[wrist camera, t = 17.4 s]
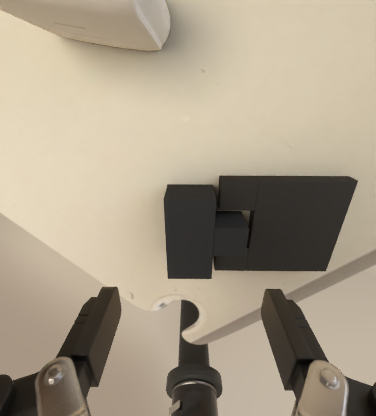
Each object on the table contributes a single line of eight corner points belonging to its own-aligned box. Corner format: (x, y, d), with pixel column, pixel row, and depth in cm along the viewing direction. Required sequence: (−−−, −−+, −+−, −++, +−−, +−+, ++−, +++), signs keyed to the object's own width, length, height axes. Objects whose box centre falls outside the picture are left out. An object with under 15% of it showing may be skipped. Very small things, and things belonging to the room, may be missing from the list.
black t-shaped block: (235, 256, 29) (242, 279, 26) (170, 256, 29) (167, 278, 26) (244, 184, 25) (253, 199, 21) (167, 184, 25) (163, 199, 21)
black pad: (319, 263, 30) (325, 271, 28) (213, 262, 30) (214, 270, 28) (348, 176, 24) (358, 180, 23) (219, 175, 24) (221, 180, 23)
